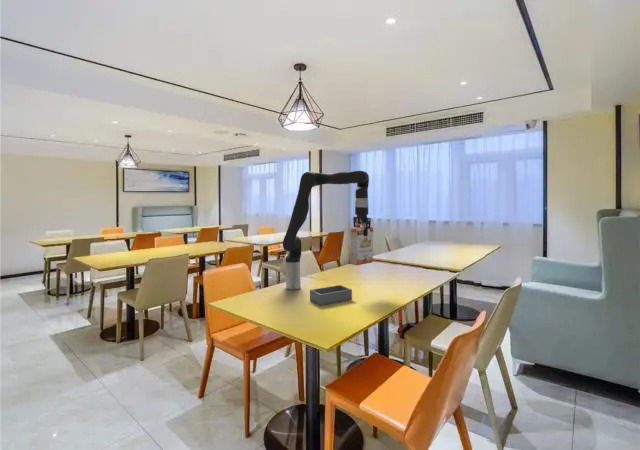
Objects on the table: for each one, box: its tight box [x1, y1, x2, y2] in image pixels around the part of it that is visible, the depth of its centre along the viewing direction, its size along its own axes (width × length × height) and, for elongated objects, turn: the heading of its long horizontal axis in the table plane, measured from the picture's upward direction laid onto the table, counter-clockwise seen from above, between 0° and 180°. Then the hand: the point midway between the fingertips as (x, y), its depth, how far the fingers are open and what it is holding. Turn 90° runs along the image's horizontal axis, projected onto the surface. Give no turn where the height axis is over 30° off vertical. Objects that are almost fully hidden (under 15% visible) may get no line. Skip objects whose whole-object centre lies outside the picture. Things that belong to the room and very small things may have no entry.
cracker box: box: [349, 226, 374, 266], centre depth 193 cm, size 14×6×21 cm, turn 132°
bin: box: [309, 284, 353, 307], centre depth 187 cm, size 12×20×6 cm, turn 119°
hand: (361, 235), depth 192 cm, fingers closed on cracker box, 6 cm apart
